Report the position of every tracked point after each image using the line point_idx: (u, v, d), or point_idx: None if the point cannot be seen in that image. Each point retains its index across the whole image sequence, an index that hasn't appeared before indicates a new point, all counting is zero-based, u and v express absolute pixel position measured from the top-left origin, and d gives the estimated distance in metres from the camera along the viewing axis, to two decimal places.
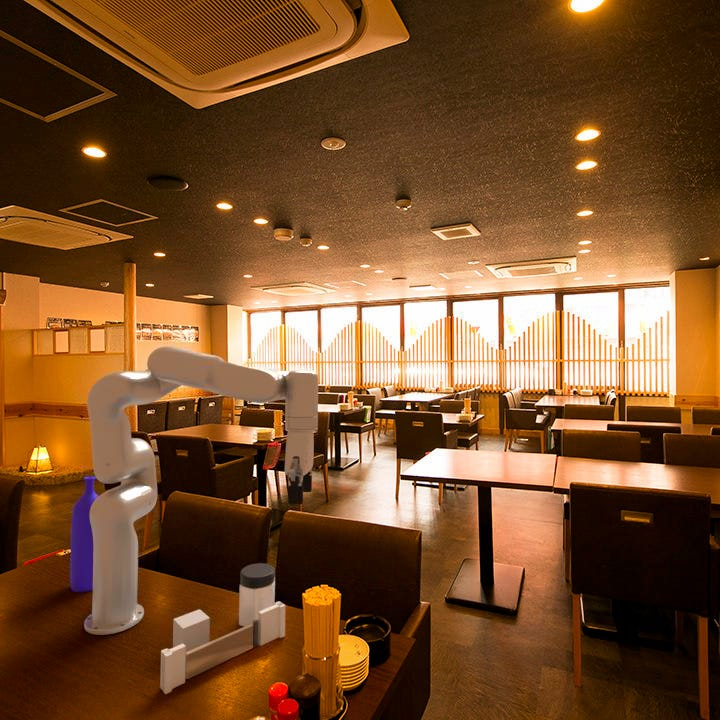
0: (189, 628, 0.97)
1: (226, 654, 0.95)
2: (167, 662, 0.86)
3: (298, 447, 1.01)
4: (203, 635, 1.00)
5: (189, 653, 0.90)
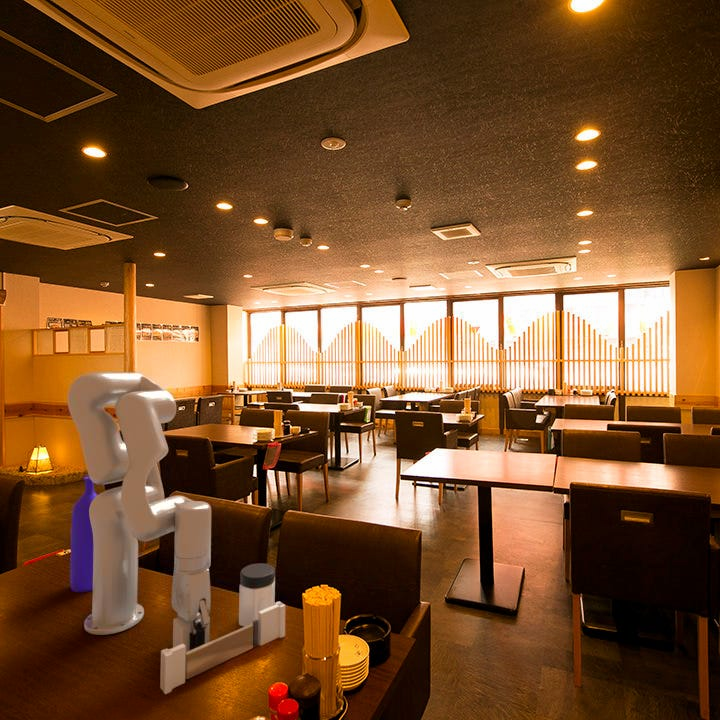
0: (189, 628, 0.97)
1: (226, 654, 0.95)
2: (167, 662, 0.86)
3: (204, 588, 0.97)
4: None
5: (189, 653, 0.90)
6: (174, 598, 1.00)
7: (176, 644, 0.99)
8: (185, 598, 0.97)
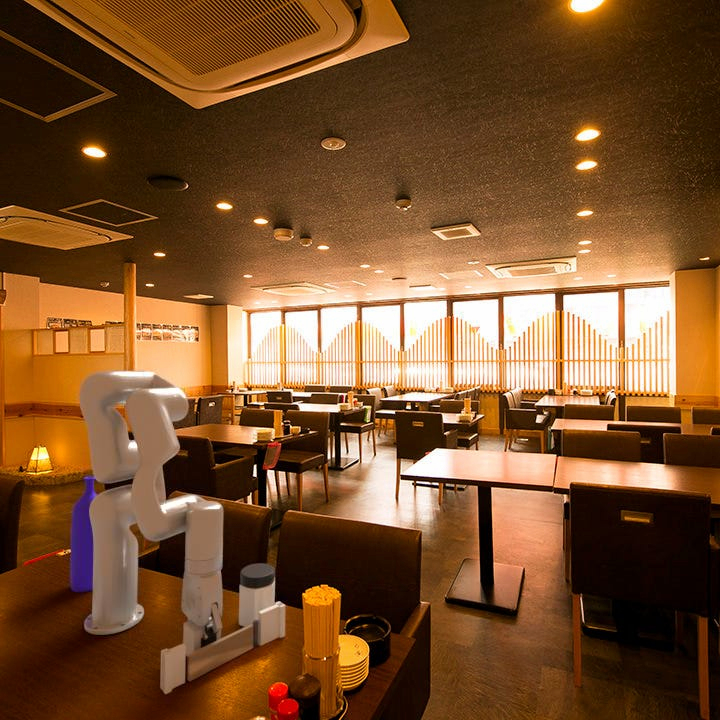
0: (200, 633, 0.94)
1: (227, 655, 0.95)
2: (167, 662, 0.86)
3: (216, 592, 0.94)
4: None
5: (191, 655, 0.89)
6: (184, 602, 0.97)
7: (186, 649, 0.95)
8: (196, 602, 0.93)
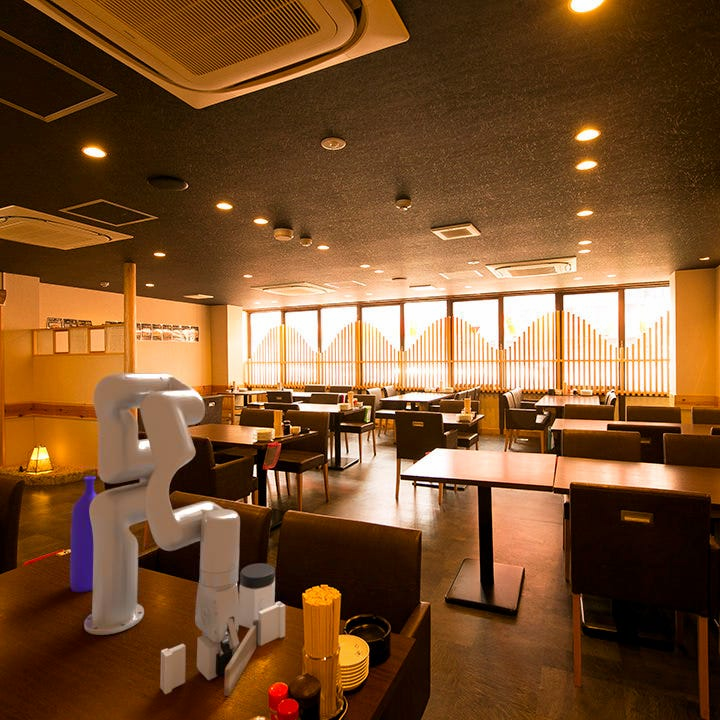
0: (215, 649, 0.89)
1: (245, 660, 0.93)
2: (167, 662, 0.86)
3: (232, 605, 0.89)
4: None
5: (229, 668, 0.85)
6: (198, 615, 0.92)
7: (201, 666, 0.90)
8: (212, 616, 0.88)
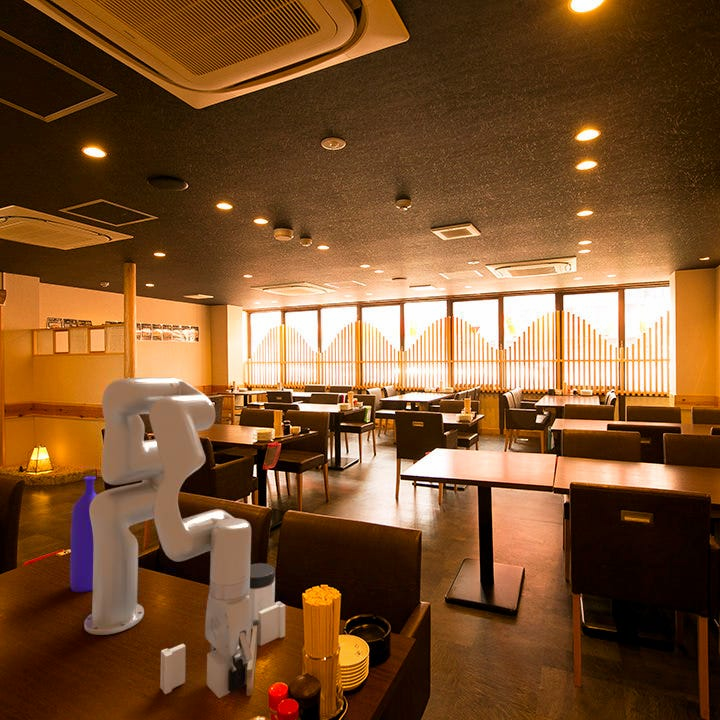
0: (226, 665, 0.86)
1: None
2: (167, 662, 0.86)
3: (244, 619, 0.86)
4: None
5: (251, 668, 0.85)
6: (209, 628, 0.89)
7: (211, 683, 0.87)
8: (223, 630, 0.85)
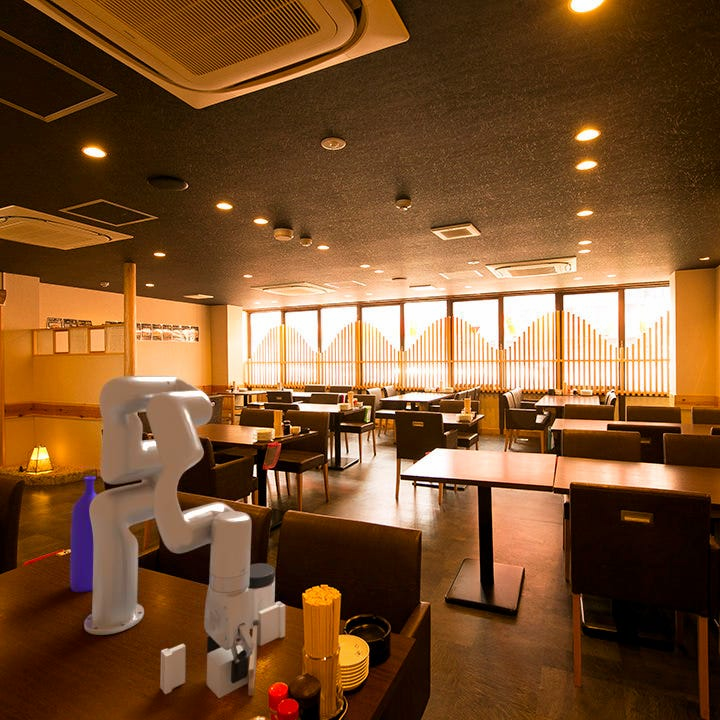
0: (226, 665, 0.86)
1: None
2: (167, 662, 0.86)
3: (243, 612, 0.86)
4: None
5: (252, 667, 0.86)
6: (208, 620, 0.89)
7: (211, 683, 0.87)
8: (222, 622, 0.85)
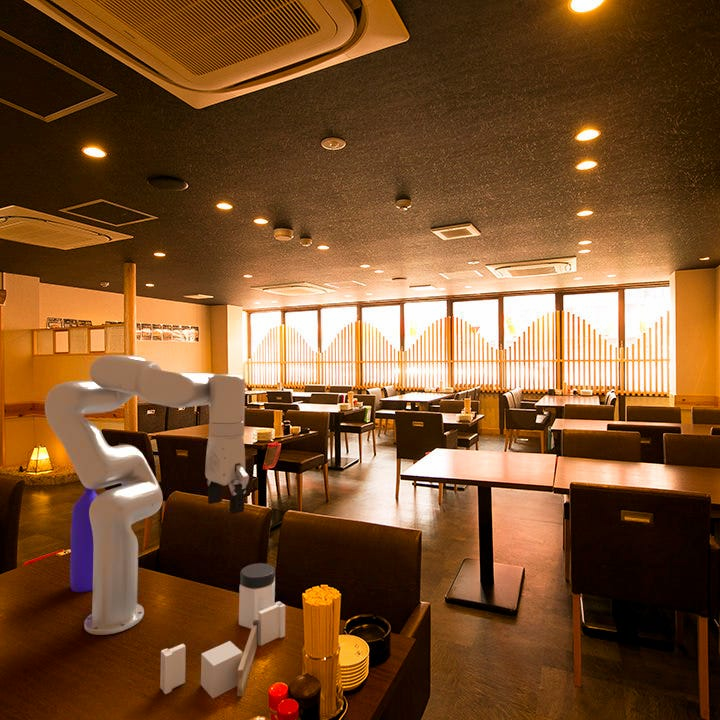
0: (220, 665, 0.86)
1: (251, 660, 0.93)
2: (167, 662, 0.86)
3: (239, 453, 0.98)
4: (236, 672, 0.88)
5: (242, 668, 0.85)
6: (208, 467, 1.01)
7: (205, 683, 0.87)
8: (221, 462, 0.97)
